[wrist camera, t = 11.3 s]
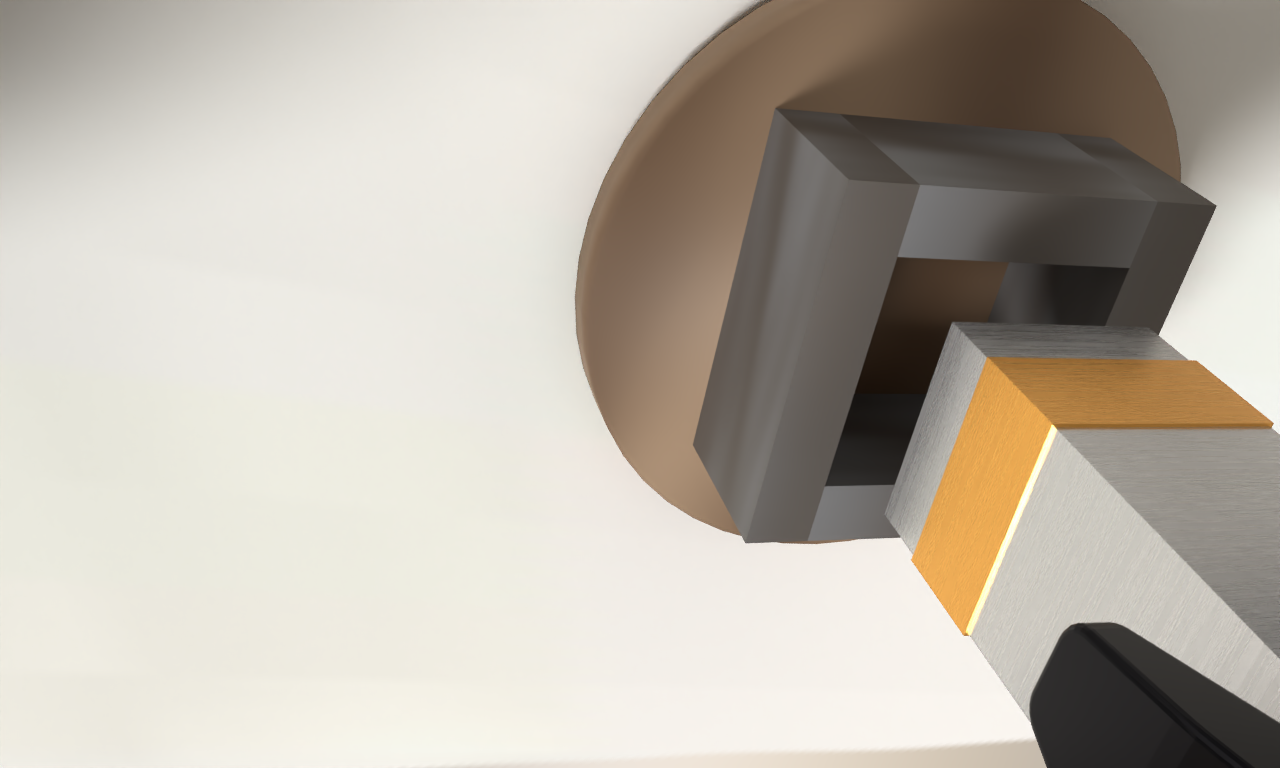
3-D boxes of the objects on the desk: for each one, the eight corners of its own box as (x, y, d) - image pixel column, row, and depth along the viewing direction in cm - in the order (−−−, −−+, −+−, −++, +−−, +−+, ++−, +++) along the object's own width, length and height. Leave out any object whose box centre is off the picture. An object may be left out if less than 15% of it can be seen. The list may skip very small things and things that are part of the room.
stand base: (533, 522, 25) (579, 662, 22) (638, -90, 19) (722, -20, 16) (1028, 508, 29) (1128, 624, 26) (1245, -4, 23) (1412, 66, 20)
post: (881, 516, 20) (1424, 1296, 11) (950, 319, 18) (1669, 1058, 9) (1068, 510, 21) (1697, 1208, 12) (1152, 324, 19) (1966, 984, 10)
